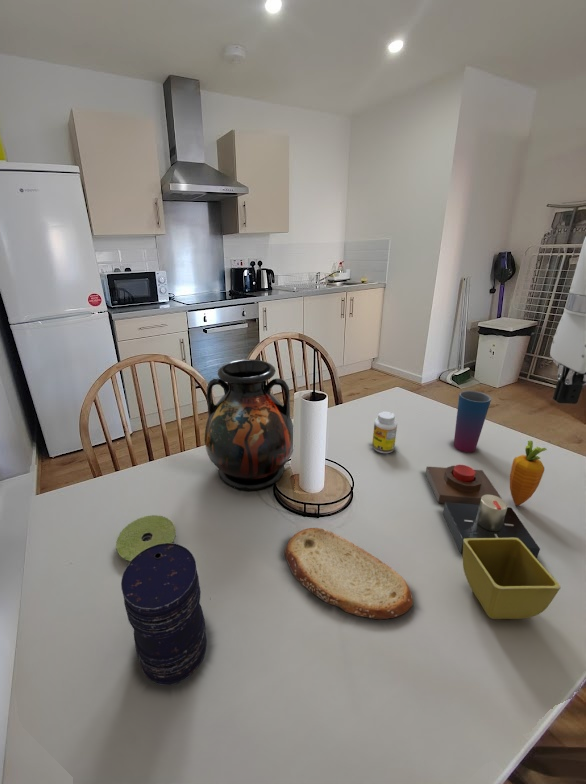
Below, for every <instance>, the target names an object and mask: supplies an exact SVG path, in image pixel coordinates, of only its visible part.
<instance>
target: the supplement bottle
mask: <svg viewBox="0 0 586 784" xmlns="http://www.w3.org/2000/svg"><path fill="white" fill-rule="evenodd" d="M395 418H396V415H395V414H394V413H392V412H390V411H380V412H379V413H378V415H377V417H376V418H375V420H374V423H373V434H372V445H371V446H372V449H373V450H374V451H376V452H378V453H381V454H389V453H392V452H393V451H395V446H396V445H395V444H396V439H397V431H398V430H397V429H398V423H397V421H396V420H395Z"/></svg>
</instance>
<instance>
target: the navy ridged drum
mask: <svg viewBox="0 0 586 784" xmlns="http://www.w3.org/2000/svg"><path fill="white" fill-rule="evenodd" d="M120 582H121V583H120V588H121V589H120V590H121V592H122V593H121V594H122V596H123V603H124V607H125V611H126V616H127V620H128V621H129V624H130V626H131V627H132V629H133V641H134V648H135V650H136V656H137V658H138V661H139V664H140V667H141V670H142V672H143V674H144V675H145V676H146V678H147V679H148V680H150V681H151V682H152V683H154V684H156V685H160V686H173V685H177V684H179V683H181V682H183V681H185V680H186V679H188V678H190V676H192V675H193V674H194V673H195V671H197V669H199V666H200V665H201V663H202V661H203V660H204V657H205V655H206V654H205V653H206V650H207V633H206V630H207V628H206V620H205V616H204V611H203V608H202V606H201V593H202V592H201V586H200V585H201V584H200V578H199V573H198V569H197V561H196V558H195V556H194V554H193V553H192V552H191V551H190V549H188V548H187V547H185V546H183V545H181V544H178V543H173V542H172V543H163V544H158V545H154V546H151V547H149V548H147V549H145V550H144V551H142V552H140V553H139V554H138V555H136V556H135V557H134V558H133V559H132V560H131V561H129V562H128V563H127V566H126V567H125V569H124V571H123V573H122V576H121V581H120Z"/></svg>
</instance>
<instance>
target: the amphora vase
mask: <svg viewBox="0 0 586 784" xmlns="http://www.w3.org/2000/svg"><path fill="white" fill-rule="evenodd" d="M276 372H277V371H276V367H275V366H274V365H273V364H272V363H270V362H268V361H265V360H261V359H252V358H250V359H238V360H237V359H236V360H232V361H229V362H226V363H224V364H223V365H221V366H220V367H219V368H218V370H217V376H218V378H217V377H216V378H215V377H214V378H213V379H211V380H210V381H209V382H208V383H207V386H206V404H207V414H208V415H207V416H208V417H207V421H206V424H205V428H204V429H205V430H204V445H205V446H204V447H205V450H206V454H207V457H208V458H209V460H210V461H211V463H212V464H213V465H214V466H215V468H217V469H218V470H217V472H218V476H219V479H220V480H221V481H222V483H223V484H225V485H226V486H228V487H230V488H231V489H234V490H237V491H239V492H244V493H245V492H246V493H251V492H255V493H256V492H260V491H264V490H268V489H269V488H272V487H273V486H275V485H276V484H278V483H279V482H280V481H281V479H282V478H283V477H284V473H285V469H286V468H285V465H286V464H287V462H289V460H290V459H291V457H292V455H293V452H294V449H293V427H294V424H293V420H292V418H291V395H290V394H291V393H290V388H289V385H288V383H287V381H286V380H284V379H282V378H277V377H276V378H273V377H274V376H275V374H276ZM272 378H273V379H272ZM270 379H271V380H270ZM268 380H270V381H269V382H268ZM217 385H218V386H220V387H221V388H222V389H223V392H224V394H223V395H222V396H221V397H220V399H219V400H218V401H217V402H216V404H215V403H214V398H213V387H214V386H217ZM274 386H280V387H281V388H282V390H283V394H284V404H283V402H282V401H281V400H280V399H279V398H278V396H275V394H274V393H272V391H271V390H272V388H273V387H274ZM275 483H276V484H275ZM274 484H275V485H274Z"/></svg>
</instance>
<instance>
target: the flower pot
mask: <svg viewBox="0 0 586 784" xmlns="http://www.w3.org/2000/svg"><path fill="white" fill-rule="evenodd" d="M462 568H463V572H464V576H465V579H466V580H467V583H468V586H469V587H470V589H471V591H472V593H473V595H474V596H475V598H476V599H477V600H478V602H479V604H480V605H481V607H482V609H483V610H484V613H485V614H486V616H487V617H488V618H490V619H492V620H522V619H523V620H524V619H528V618H532V617H536V616H538V615H540V614H542V613H544V612H545V610H546V609H547V608H548V607H549V606H550V605H551V603H552V602H553V600H554V599H555V597H556V595H557V594H558V592H559V591H560V590H561V588H562V587H561V584H559V582H558V581H557V580H556V578H554V576H553V575H552V574H551V573H550V572H549V571H548V570H547V569H546V568H545V566H543V564H542V563H541V562H540V561H539V560H538V558H537V559H536V558H535V557H534V555H533V554H532V553H531V552H530V550H529V549H528V548H527V547H526V546H525V544H524V543H523V542H522V541H521V540H520V539H518V538H466V539H463V554H462Z"/></svg>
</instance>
